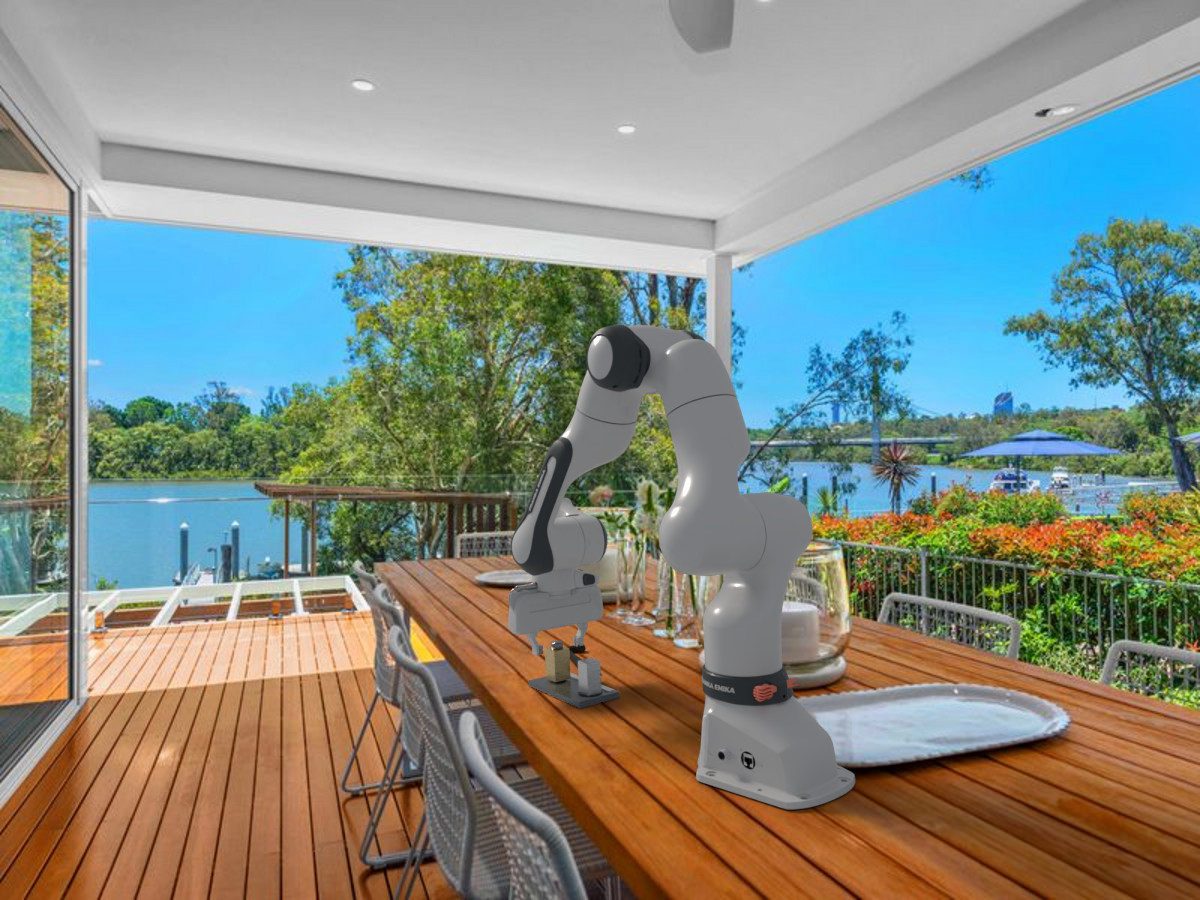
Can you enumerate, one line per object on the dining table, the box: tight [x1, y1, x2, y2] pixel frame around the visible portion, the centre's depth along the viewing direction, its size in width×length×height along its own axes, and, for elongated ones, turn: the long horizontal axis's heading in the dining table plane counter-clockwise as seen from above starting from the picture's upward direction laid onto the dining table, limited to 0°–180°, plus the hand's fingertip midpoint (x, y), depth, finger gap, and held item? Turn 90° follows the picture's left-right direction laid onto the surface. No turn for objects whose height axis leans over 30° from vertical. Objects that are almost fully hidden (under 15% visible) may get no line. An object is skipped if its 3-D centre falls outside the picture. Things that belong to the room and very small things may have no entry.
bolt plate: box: [528, 657, 620, 709], centre depth 152 cm, size 18×9×7 cm, turn 35°
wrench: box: [566, 644, 603, 677], centre depth 168 cm, size 5×5×30 cm
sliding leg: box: [544, 640, 571, 682], centre depth 156 cm, size 4×4×7 cm
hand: (558, 649), depth 155 cm, fingers open, 8 cm apart
